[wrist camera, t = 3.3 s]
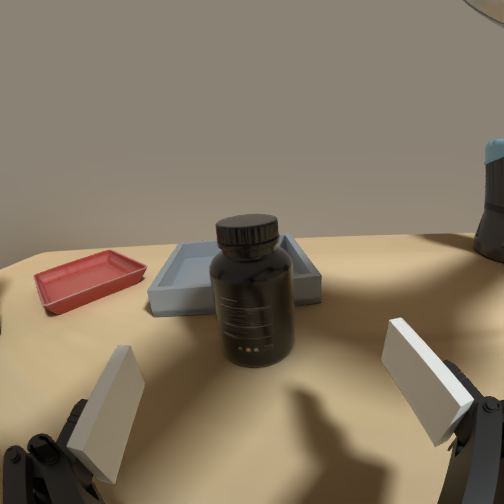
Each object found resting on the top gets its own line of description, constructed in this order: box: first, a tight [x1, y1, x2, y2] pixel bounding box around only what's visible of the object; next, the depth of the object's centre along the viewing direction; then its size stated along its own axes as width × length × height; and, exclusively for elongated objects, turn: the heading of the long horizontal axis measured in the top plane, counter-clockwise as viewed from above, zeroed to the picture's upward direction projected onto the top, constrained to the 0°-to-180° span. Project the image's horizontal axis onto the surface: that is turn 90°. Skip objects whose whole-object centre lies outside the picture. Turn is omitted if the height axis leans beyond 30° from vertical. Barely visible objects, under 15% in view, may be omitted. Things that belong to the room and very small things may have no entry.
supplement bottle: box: [209, 214, 295, 367], centre depth 23 cm, size 7×7×12 cm
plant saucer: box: [34, 250, 147, 315], centre depth 41 cm, size 18×18×3 cm
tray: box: [147, 233, 322, 317], centre depth 41 cm, size 20×20×4 cm
